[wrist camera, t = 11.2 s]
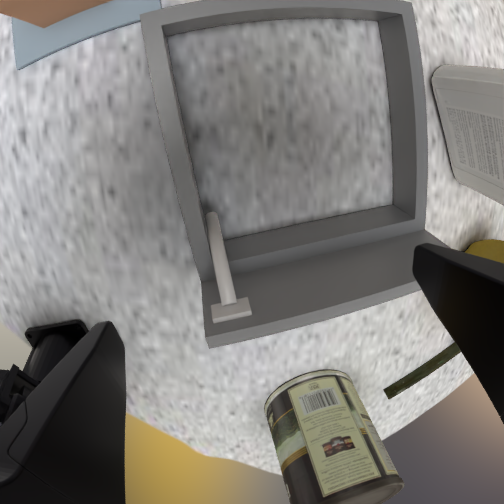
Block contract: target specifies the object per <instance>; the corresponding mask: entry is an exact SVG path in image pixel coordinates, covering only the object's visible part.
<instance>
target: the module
mask: <svg viewBox="0 0 504 504" xmlns="http://www.w3.org/2000/svg"><path fill="white" fill-rule="evenodd" d="M109 1H112V0H0V13H1V14H5V15H8V16H11V17H14V18H17V19H19V20H22V21H25V22H28V23H31V24H33V25H36V26H39V27H42V28H46V27H48V26H50V25H52V24H54V23H56V22H59V21H61V20H63V19H65V18H68V17H70V16H72V15H75V14H77V13H80V12H82V11H85V10H87V9H90V8H93V7H95V6H98V5H101V4H104V3H107V2H109Z"/></svg>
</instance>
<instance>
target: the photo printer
mask: <svg viewBox="0 0 504 504" xmlns="http://www.w3.org/2000/svg"><path fill="white" fill-rule="evenodd" d="M432 86H433V91H434V95H435V99H436V102H437V106H438V110H439V114H440V118H441V122H442V126H443V130H444V134H445V138H446V143H447V148H448V152H449V157H450V161H451V166H452V170H453V173H454V176H455V179H456V180H457V181H458V182H459V183H461V184H463V185H465V186H467V187H469V188H471V189H473V190H475V191H477V192H479V193H481V194H483V195H485V196H487V197H489V198H491V199H493V200H495V201H496V202H498V203H500V204H502V205H504V69H498V68H489V67H478V66H462V65H443V66H440V67H439V68H438V69H437V70H436V71H435V72H434V74H433V77H432Z"/></svg>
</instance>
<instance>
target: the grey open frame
mask: <svg viewBox="0 0 504 504" xmlns="http://www.w3.org/2000/svg"><path fill="white" fill-rule="evenodd" d="M139 15H140V21H141V27H142V33H143V39H144V45H145V50H146V56H147V61H148V67H149V72H150V77H151V82H152V87H153V92H154V97H155V102H156V106H157V111H158V116H159V120H160V125H161V129H162V134H163V138H164V143H165V147H166V151H167V156H168V160H169V164H170V168H171V172H172V176H173V181H174V185H175V189H176V192H177V196H178V200H179V204H180V208H181V212H182V216H183V219H184V223H185V227H186V231H187V234H188V238H189V242H190V245H191V249H192V252H193V256H194V260H195V263H196V267H197V270H198V273H199V277H200V280H201V287H202V302H203V316H204V329H205V338H206V341H207V344H208V347H209V348H214V347H219V346H224V345H228V344H233V343H237V342H242V341H246V340H250V339H255V338H259V337H263V336H267V335H271V334H275V333H279V332H283V331H287V330H291V329H295V328H299V327H303V326H306V325H310V324H314V323H317V322H321V321H324V320H328V319H331V318H335V317H338V316H342V315H345V314H349V313H352V312H355V311H358V310H362V309H365V308H368V307H371V306H375V305H378V304H381V303H384V302H387V301H390V300H393V299H396V298H399V297H402V296H405V295H408V294H411V293H414V292H417V291H419V290H422V289H421V288H420V286H419V284H418V283H417V281H416V279H415V278H414V275H413V272H412V266H413V256H414V249H415V247H416V246H417V245H420V244H423V243H431V244H435V245H439V246H442V247H446V248H450V247H448V246H447V245H446V244H444V243H443V242H442V241H440V240H439V239H437V238H436V237H435V236H433V235H432V234H431V233H429V232H428V231H426V230H425V219H426V204H427V179H428V138H427V113H426V98H425V86H424V76H423V68H422V60H421V52H420V45H419V39H418V33H417V27H416V22H415V17H414V12H413V7H412V3H411V2H406V1H400V0H202V1H196V2H191V3H185V4H180V5H176V6H171V7H167V8H162V9H158V10H154V11H150V12H147V13H143V14H139ZM302 18H337V19H359V20H372V21H378V24H379V29H380V35H381V41H382V47H383V54H384V61H385V68H386V76H387V85H388V94H389V105H390V117H391V132H392V153H393V205H389V206H384V207H379V208H374V209H369V210H364V211H360V212H355V213H350V214H345V215H340V216H336V217H331V218H326V219H321V220H317V221H312V222H307V223H303V224H298V225H293V226H289V227H284V228H280V229H275V230H270V231H266V232H261V233H257V234H252V235H248V236H243V237H239V238H234V239H230V240H225V241H223V237H222V233H221V228H220V223H219V219H218V214H217V213H216V212H209V213H207V214H206V215H205V216H204V214H203V210H202V206H201V201H200V197H199V193H198V188H197V184H196V180H195V175H194V171H193V166H192V162H191V157H190V153H189V148H188V144H187V139H186V134H185V130H184V125H183V120H182V115H181V110H180V106H179V101H178V96H177V91H176V86H175V80H174V75H173V70H172V65H171V60H170V54H169V49H168V43H167V38H166V36H170V35H174V34H179V33H183V32H188V31H193V30H199V29H204V28H210V27H216V26H222V25H229V24H237V23H245V22H255V21H265V20H279V19H302ZM204 217H205V218H204ZM450 249H451V248H450Z"/></svg>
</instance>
